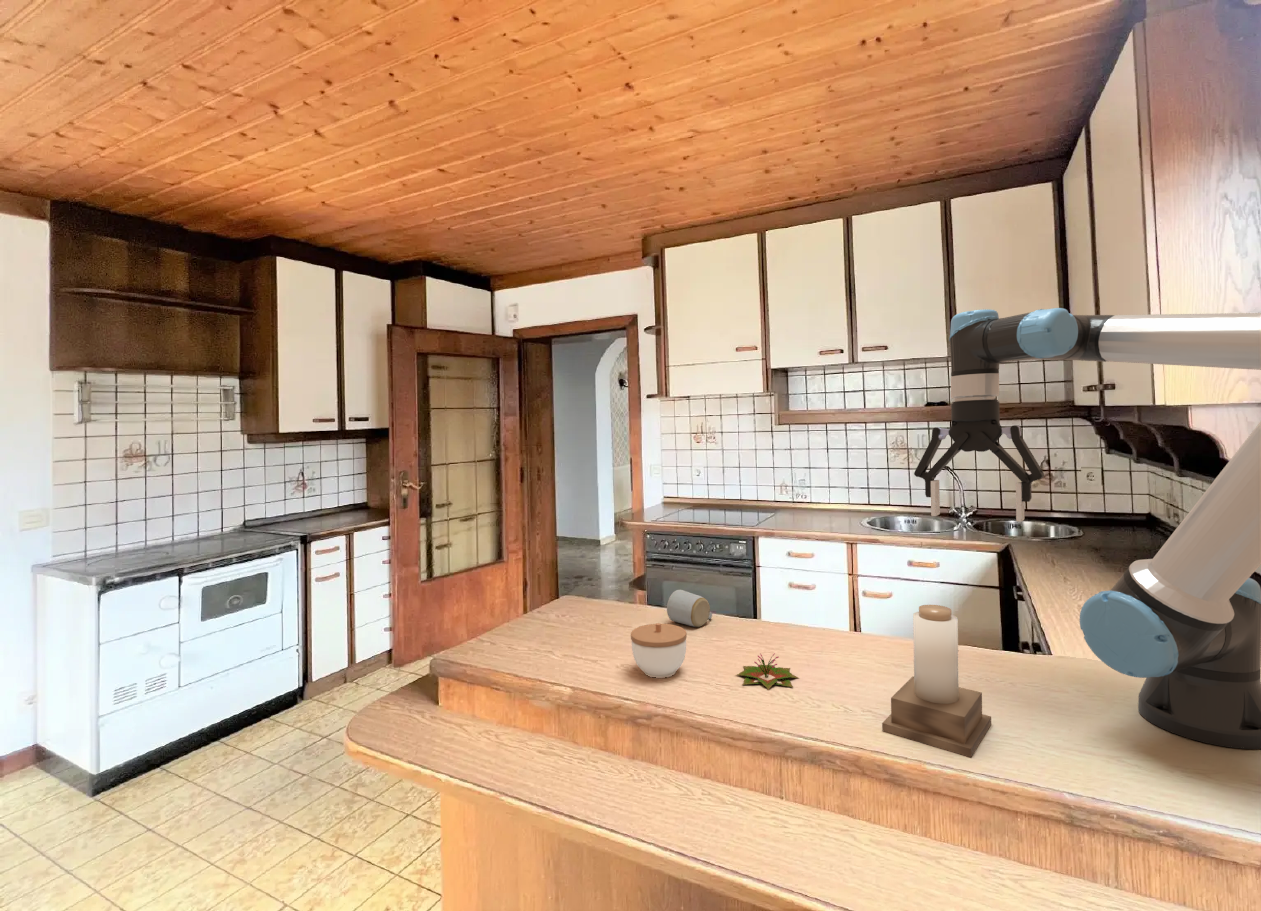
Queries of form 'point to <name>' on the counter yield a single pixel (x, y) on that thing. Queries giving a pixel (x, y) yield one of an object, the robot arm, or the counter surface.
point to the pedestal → (938, 720)
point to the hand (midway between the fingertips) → (976, 517)
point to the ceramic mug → (688, 608)
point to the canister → (936, 654)
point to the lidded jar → (659, 649)
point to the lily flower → (767, 670)
